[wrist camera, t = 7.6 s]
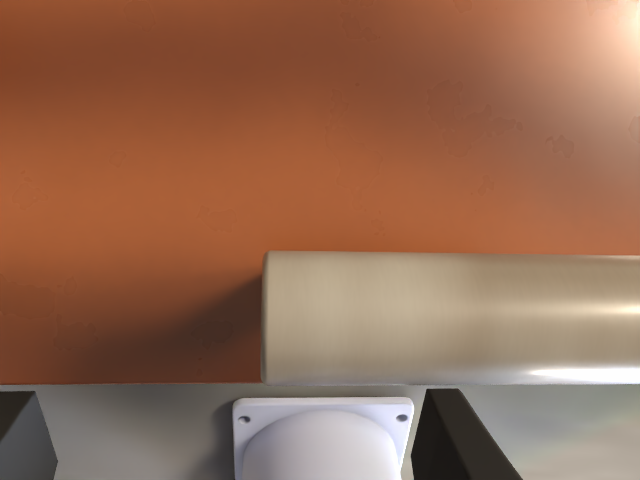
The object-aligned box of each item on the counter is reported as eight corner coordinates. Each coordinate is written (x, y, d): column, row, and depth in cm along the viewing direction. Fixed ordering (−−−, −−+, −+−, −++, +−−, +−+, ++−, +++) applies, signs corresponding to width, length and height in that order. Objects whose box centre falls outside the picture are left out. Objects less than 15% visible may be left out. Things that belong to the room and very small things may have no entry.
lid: (766, 373, 12) (1108, 479, 7) (-27, 375, 10) (-282, 508, 6) (789, -143, 11) (1166, -407, 7) (-28, -206, 10) (-300, -593, 5)
